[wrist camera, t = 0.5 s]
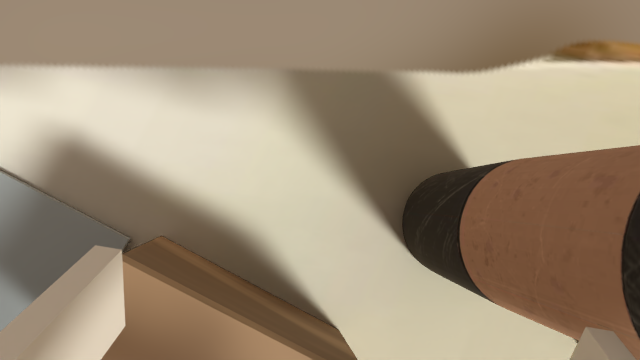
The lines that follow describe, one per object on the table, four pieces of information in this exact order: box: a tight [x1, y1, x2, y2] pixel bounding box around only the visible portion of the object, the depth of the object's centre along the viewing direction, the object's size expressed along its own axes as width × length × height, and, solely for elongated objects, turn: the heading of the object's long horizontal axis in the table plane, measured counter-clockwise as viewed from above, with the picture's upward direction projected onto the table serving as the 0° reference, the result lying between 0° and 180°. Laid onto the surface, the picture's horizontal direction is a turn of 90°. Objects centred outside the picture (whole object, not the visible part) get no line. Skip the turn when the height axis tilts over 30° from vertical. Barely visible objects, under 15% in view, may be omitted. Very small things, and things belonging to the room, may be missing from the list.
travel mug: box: [403, 145, 640, 360], centre depth 20 cm, size 8×8×20 cm
